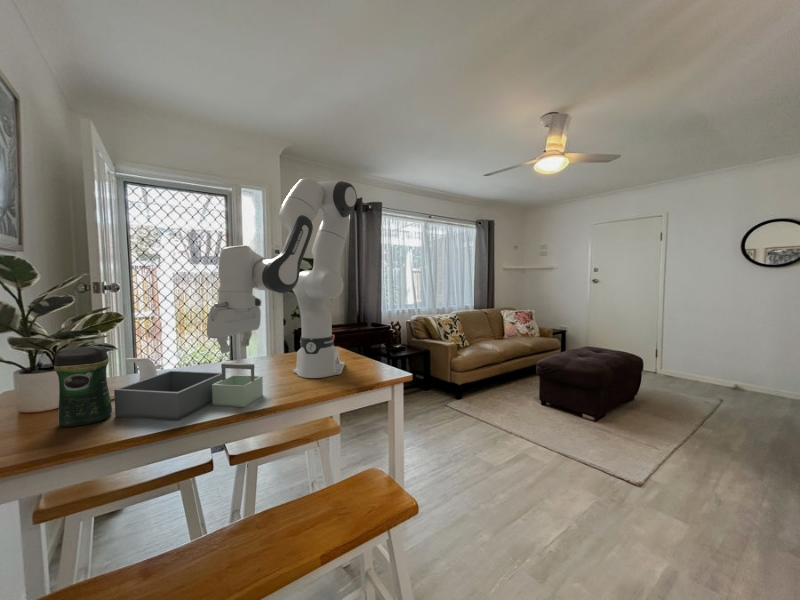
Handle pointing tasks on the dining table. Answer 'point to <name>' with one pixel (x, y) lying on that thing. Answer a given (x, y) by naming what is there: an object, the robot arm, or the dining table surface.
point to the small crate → (237, 387)
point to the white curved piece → (144, 367)
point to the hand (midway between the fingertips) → (235, 349)
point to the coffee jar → (82, 385)
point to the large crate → (166, 395)
